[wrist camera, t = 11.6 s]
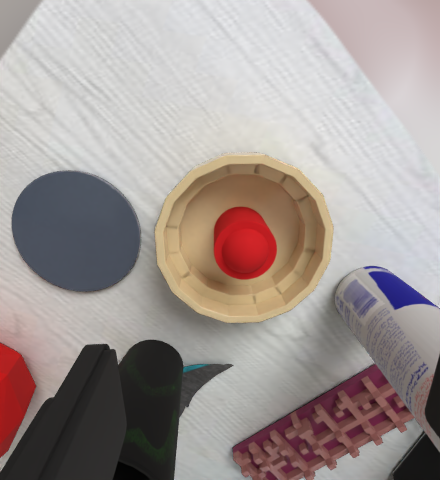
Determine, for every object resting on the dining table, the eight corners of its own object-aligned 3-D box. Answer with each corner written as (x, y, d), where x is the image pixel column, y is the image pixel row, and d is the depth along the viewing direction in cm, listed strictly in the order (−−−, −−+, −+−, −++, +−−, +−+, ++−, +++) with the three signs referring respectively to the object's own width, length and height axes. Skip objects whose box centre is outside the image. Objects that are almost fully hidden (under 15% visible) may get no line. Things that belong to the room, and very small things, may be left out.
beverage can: (354, 331, 28) (499, 528, 14) (320, 290, 27) (441, 462, 12) (408, 296, 27) (623, 469, 13) (374, 251, 26) (576, 389, 11)
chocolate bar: (428, 400, 31) (442, 417, 29) (271, 484, 34) (275, 505, 32) (394, 352, 29) (407, 367, 27) (232, 447, 32) (233, 466, 30)
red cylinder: (213, 206, 24) (213, 226, 18) (267, 205, 24) (282, 224, 18) (214, 257, 25) (214, 288, 20) (265, 256, 25) (279, 287, 20)
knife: (59, 487, 33) (98, 506, 35) (54, 498, 32) (95, 517, 34) (193, 335, 28) (235, 363, 29) (192, 342, 27) (236, 371, 28)
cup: (101, 380, 29) (17, 527, 18) (130, 316, 27) (58, 433, 16) (174, 411, 30) (140, 571, 18) (208, 350, 28) (193, 486, 16)
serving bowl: (158, 153, 23) (147, 156, 19) (320, 151, 23) (341, 153, 19) (169, 298, 27) (162, 325, 23) (308, 295, 27) (324, 321, 23)
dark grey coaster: (2, 171, 23) (-3, 172, 23) (134, 169, 23) (133, 169, 23) (29, 290, 26) (26, 293, 26) (146, 287, 26) (145, 290, 26)
